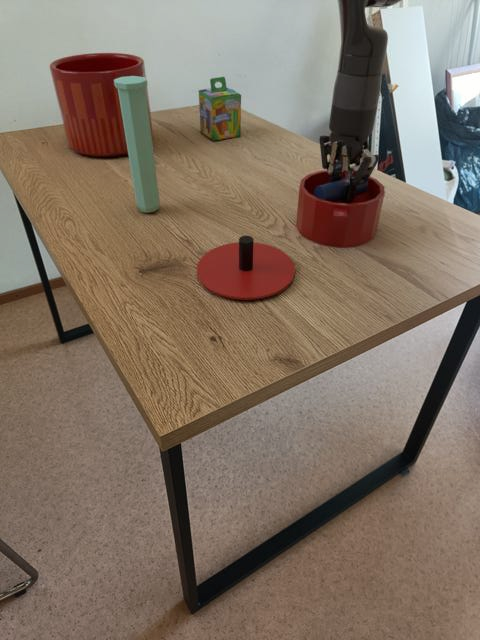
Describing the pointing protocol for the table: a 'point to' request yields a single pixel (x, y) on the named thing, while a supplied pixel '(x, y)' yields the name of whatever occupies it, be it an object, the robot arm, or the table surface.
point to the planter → (94, 100)
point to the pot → (338, 213)
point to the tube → (336, 190)
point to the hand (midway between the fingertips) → (340, 197)
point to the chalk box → (220, 111)
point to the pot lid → (245, 270)
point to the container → (139, 140)
